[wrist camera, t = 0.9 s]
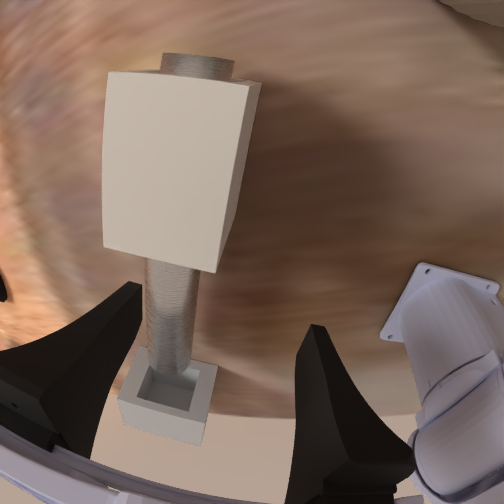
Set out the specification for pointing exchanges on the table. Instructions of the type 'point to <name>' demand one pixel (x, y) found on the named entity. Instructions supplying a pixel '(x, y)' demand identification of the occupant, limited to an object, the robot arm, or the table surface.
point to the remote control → (2, 291)
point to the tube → (171, 275)
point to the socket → (167, 399)
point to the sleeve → (174, 164)
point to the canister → (480, 10)
